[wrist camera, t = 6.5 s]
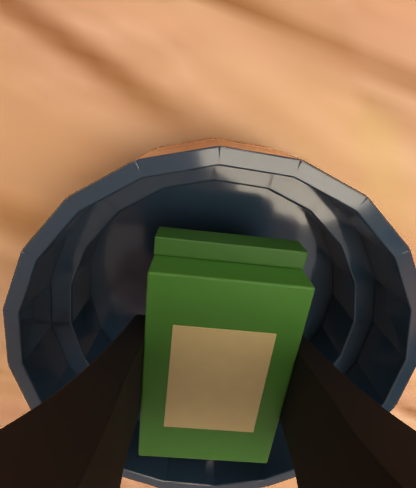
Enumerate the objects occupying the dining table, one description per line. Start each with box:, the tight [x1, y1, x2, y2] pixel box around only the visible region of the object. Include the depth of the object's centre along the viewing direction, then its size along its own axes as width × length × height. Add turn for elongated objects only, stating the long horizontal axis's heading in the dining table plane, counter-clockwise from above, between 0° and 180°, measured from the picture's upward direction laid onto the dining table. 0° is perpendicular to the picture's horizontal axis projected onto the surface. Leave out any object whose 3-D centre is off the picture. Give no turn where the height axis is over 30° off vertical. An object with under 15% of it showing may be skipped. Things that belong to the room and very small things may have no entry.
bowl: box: [3, 138, 416, 488], centre depth 13 cm, size 14×14×5 cm
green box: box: [138, 226, 315, 463], centre depth 11 cm, size 8×5×3 cm, turn 173°
